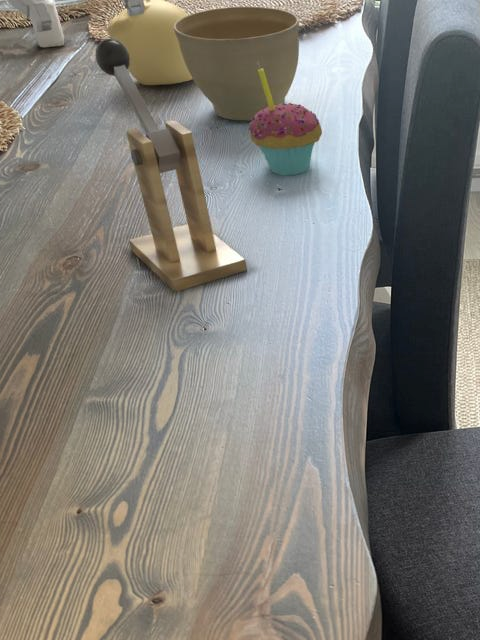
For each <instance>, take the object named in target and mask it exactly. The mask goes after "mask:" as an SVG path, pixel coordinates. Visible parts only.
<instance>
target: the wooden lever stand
mask: <svg viewBox="0 0 480 640" xmlns="http://www.w3.org/2000/svg"><path fill="white" fill-rule="evenodd" d="M164 125H165V129H166V128H167V129H168V130H169V132H170V134H171V136H172V138H173V139H174V141H175V143H176V145H177V147H178V149H179V151H180V167H179V169H175V170H174V171H175V173H176V179H177V183H178V187H179V191H180V196H181V200H182V204H183V209H184V213H185V218H186V223H187V224H186V223H185V224H182V225H178V226H175V227H173V224H172V219H171V215H170V211H169V206H168V202H167V198H166V194H165V189H164V186H163V182H162V177H161V173H160V172H159V168H158V164H157V160H156V156H155V151H154V147H153V143H152V141H151V140H149V139H148V138H147V137H146V135H144V134H143V133H142V132H140V131H139V130H138V129H136V128H132V129H127V130H126V131H125V133H126V138H127V141H128V145H129V149H130V156H131V159H132V162H133V165H134V169H135V172H136V177H137V181H138V184H139V188H140V189H139V190H140V193H141V197H142V201H143V204H144V209H145V213H146V216H147V220H148V224H149V228H150V231H151V232H150V234H146V235H145V234H144V235H142V236H139V237H135V238H131V239H129V240H128V242H129V246H130V249H131V250H130V251H132V253H134V255H136V256H137V258H139V259H140V260H141V261H142V262H143V263H144V264H145V265H146V266H147V267H148V268H149V269H150V270H151V271H152V272H153V273H155V274H156V276H158V277H159V278H160V280H162V281H163V282H164V283H165V284H166V285H167V286H168V287H169V288H170V289H171V290H172V291H173V292H175V293H176V292H180V291H182V290H185V289H189V288H192V287H196V286H200V285H203V284H206V283H207V284H208V283H209V282H213V281H216V280H219V279H223V278H228V277H230V276H232V275H237V274H240V273H243V272H247V271H248V267H247V261H246V259H245V258H244V257H243V256H242V255H241V254H239V253H238V252H236V250H234V249H233V248H232V247H231V246H230V245H228V244H227V243H226V242H225V241H223V240H222V239H221V238H220V237H218V236H217V235H216V234H215V233H214V232H213V227H212V222H211V217H210V213H209V209H208V204H207V203H208V202H207V199H206V193H205V189H204V185H203V178H202V175H201V170H200V166H199V159H198V156H197V151H196V145H195V141H194V137H193V132H192V131H190V130H189V129H188V128H186V127H185V126H183V125H182V124H181V123H179V122H177V121H176V120H175V119H173V120H172V119H171V120H168V121H167V120H166V121H165V122H164Z"/></svg>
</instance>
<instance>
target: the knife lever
mask: <svg viewBox="0 0 480 640" xmlns="http://www.w3.org/2000/svg"><path fill="white" fill-rule="evenodd" d="M94 52H95V54H94V55H95V60H96V61H95V62H96V63H97V65H98V67H99V68H100V70H101V71H103V73H105V74H107V75H109V76H111V77H115V79H116V81H117V82H118V85H119V86H120V88H121V90H122V92H123V94H124V95H125V97H126V99H127V101H128V103H129V105H130V107H131V108H132V110H133V112H134V114H135V116H136V118H137V120H138V121H139V124H140V125H141V127H142V129H143V131H144V132H145V133H144V134H145V137H147V138H148V139H149V140H151V141H152V143H153V147H154V151H155V156H156V160H157V164H158V168H159V172H160V174H163V173H167V172H172V171H176V170H175V169H179V167H180V151H179V149H178V147H177V145H176V143H175V141H174V139H173V138H172V136H171V134H170V132H169V130H168V129H167V128H166V127H165V128H162V129H160V128H159V127H158V124H157V123H156V121H155V119H154V117H153V115H152V113H151V111H150V109H149V107H148V106H147V104H146V102H145V100H144V98H143V96H142V95H141V93H140V91H139V89H138V87H137V85H136V83H135V82H134V79H133V78H132V75H131V73H130V72H129V70H128V68H129V64H130V57H129V53H128V51H127V49H126V47H125V46H124V45H123V44H122V43H121V42H119V41H117V40H115V39H110V38H105V39H102V40H101V41H100V42H99V43H98V44H97V45H96V48H95V51H94Z"/></svg>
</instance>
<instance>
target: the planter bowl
mask: <svg viewBox="0 0 480 640" xmlns="http://www.w3.org/2000/svg"><path fill="white" fill-rule="evenodd" d="M299 22H300V21H299V18H298V16H297V15H296V14H295V13H292V12H290V11H287V10H285V9H281V8H274V7H266V6H264V7H263V6H229V7H219V8H212V9H206V10H202V11H196V12H193V13H191V14H188V16H185V17H183V18H181V19H180V20H178V21H177V22H176V23H175V24H174V31H175V34H176V37H177V39H178V41H179V45H180V49H181V53H182V56H183V59H184V61H185V64H186V66H187V69H188V71H189V73H190V74H191V76H192V78H193V79H192V80H193V81H194V83H195V84H196V86H197V88H198V89H199V91H201V92H200V93H202V94H203V95H204V97H205V98H206V99H207V100H208V101H209V102H210V103H211V104H212V107H213V110H214V112H215V114H216V115H217V116H218V117H220V118H223V119H226V120H233V121H246V122H247V121H248V122H251V121H252V120H253V118H254V117H255V116H254V115H256V114H257V113H258V112H259V111H261V110H262V109H265V108H266V107H269V105H268V102H267V99H266V95H265V92H264V89H263V86H262V82H261V79H260V76H259V72H258V70H259V67H258V65H257V63H256V62H258V63H259V65H260V68H261V69H264V73H265V76H266V79H267V83H268V86H269V89H270V93H271V96H272V99H273V103H274V104H276V105H278V104H286V102H285V101H286V97H287V95H288V93H289V92H290V89H291V87H292V85H293V81H294V80H295V76H296V73H297V68H298V63H299V56H300V40H299V30H300V23H299Z"/></svg>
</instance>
